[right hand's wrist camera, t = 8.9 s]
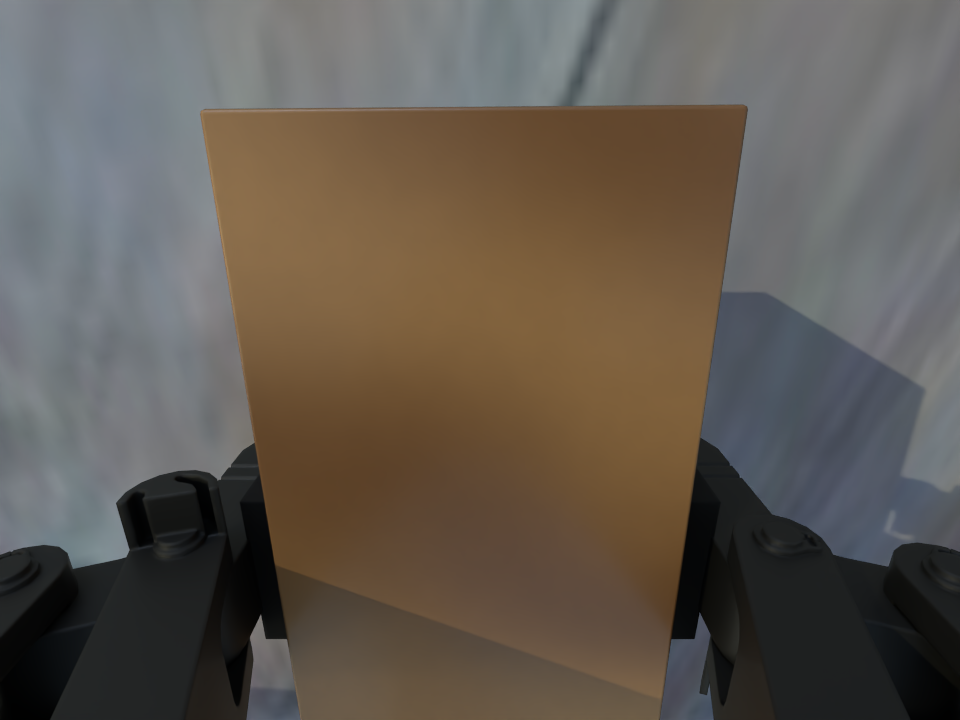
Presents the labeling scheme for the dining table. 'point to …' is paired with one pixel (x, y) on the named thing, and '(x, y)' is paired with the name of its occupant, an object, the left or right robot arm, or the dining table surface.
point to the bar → (477, 392)
